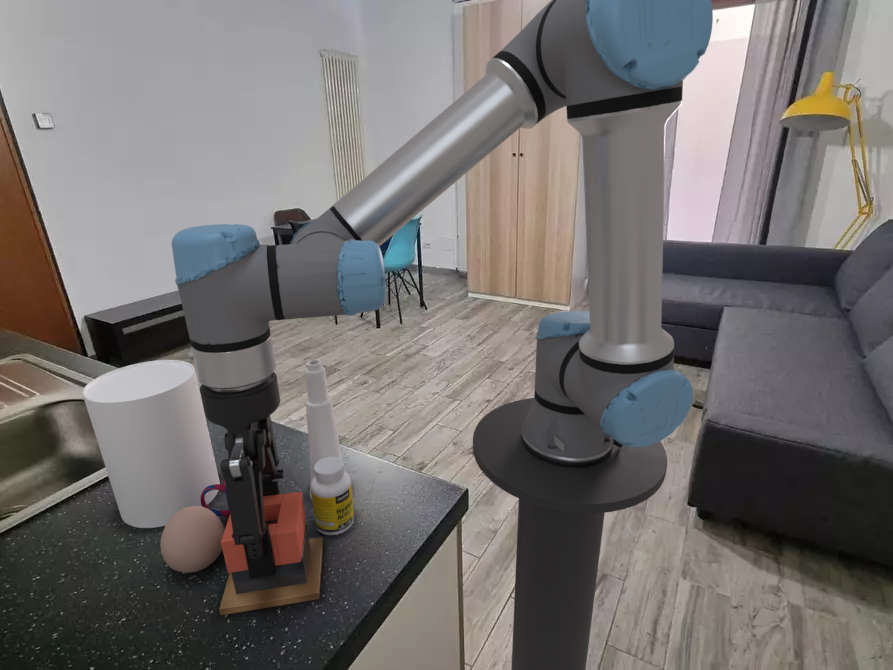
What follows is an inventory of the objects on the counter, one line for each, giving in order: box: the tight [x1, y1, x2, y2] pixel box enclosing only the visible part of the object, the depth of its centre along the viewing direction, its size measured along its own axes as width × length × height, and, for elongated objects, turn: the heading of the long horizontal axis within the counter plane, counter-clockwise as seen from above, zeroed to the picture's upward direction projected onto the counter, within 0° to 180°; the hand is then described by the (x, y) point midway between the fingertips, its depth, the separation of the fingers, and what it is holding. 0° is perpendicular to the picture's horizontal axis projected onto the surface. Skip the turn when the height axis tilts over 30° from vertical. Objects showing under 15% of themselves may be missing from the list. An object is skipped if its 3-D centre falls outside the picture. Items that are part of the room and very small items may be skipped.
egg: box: [159, 506, 225, 574], centre depth 61 cm, size 7×7×8 cm
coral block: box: [221, 491, 307, 574], centre depth 58 cm, size 8×7×4 cm
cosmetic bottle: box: [304, 358, 343, 500], centre depth 71 cm, size 6×6×22 cm
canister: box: [81, 359, 221, 529], centre depth 71 cm, size 14×14×20 cm
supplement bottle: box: [310, 457, 355, 536], centre depth 67 cm, size 5×5×10 cm
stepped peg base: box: [218, 520, 324, 616], centre depth 59 cm, size 11×9×8 cm
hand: (268, 548), depth 59 cm, fingers closed on coral block, 7 cm apart
